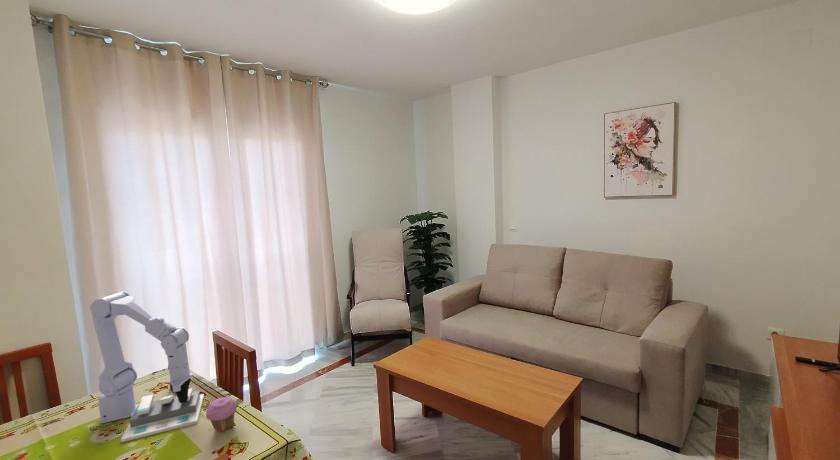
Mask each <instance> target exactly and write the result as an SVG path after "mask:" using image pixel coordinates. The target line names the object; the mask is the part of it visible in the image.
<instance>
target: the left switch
mask: <svg viewBox="0 0 840 460" xmlns="http://www.w3.org/2000/svg"><path fill="white" fill-rule="evenodd" d="M154 399H155V397H154V394H150V395H149V394H148V395H144V396H142V397H141V400H140V403H139V404H140V405H139V407H138V410H137V412H136V413H137V416H138V415H142V414H146V413H149V410H150V408H151V404H152V402H153V401H154Z"/></svg>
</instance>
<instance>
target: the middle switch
mask: <svg viewBox="0 0 840 460" xmlns="http://www.w3.org/2000/svg"><path fill="white" fill-rule="evenodd" d="M174 397H175V394H170V395H167V396H166V395H165V396H163V397H161V398H160V399H158V405H161V406H162V405H166V404H171V401H172V399H174Z"/></svg>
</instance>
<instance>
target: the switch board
mask: <svg viewBox="0 0 840 460" xmlns="http://www.w3.org/2000/svg"><path fill="white" fill-rule="evenodd" d="M204 397H205V394H204V393H203V394H201V393H200V390H198V391H194V392H192V395H191V399H190V400H189V401H187V402H183V403H178V397H177V395H176V396H175V395H174V399H172V401H171V404H166V405H162V406H161V405H158V400H159V399H158V400H153V401H152V404H151V408H150V410H149V413H146V414H142V415H138V416H137V413H136V412H137V410H138V407H139V405H140V403H138V404H139V405H138V406H137V408H136V410H135V412H134V413H133V415H132V417H130V418H129V424H128V426H127V428H126V429H125V431H124V433H123V435H122V437H121V439H120V442H121V443H125V442H129V441H132V440H137V439H141V438H144V437H147V436H148V437H149V436H152V435H156V434H160V433H163V432H167V431H171V430H176V429H179V428H184V427H188V426H192V425H195V424H198V423H199V418H200V415H201V409H202V405H203V404H204V403H203V402H204Z"/></svg>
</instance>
